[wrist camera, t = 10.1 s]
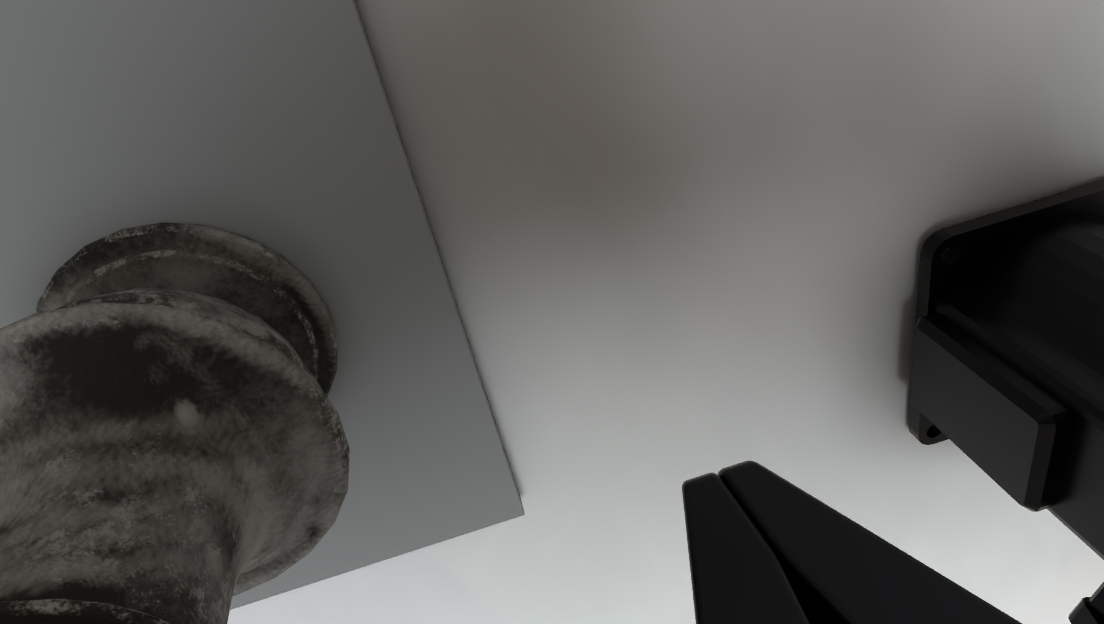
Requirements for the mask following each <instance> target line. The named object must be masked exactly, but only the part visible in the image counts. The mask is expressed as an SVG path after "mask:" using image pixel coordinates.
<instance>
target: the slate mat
mask: <svg viewBox="0 0 1104 624" xmlns="http://www.w3.org/2000/svg"><path fill="white" fill-rule="evenodd" d="M157 223H179V224H196V225H208V226H211V227H215V228H218V229H222V230H225V231H229V232H232V233H236V234H239V235H243V236H246V237H249V238H250V239H252V240H254V241H256V242H258V243H260V244H262V245H263V246H265V247H267V248H269V249H271V250H273V251H275V252H276V253H278V254H280V255H282V256H283V257H285V258H286V259H287V260H288V261H289V262H290V263H291V264H292V265H293V266H295V267H296V268H297V269H298V270H299V271H300V272H301V273H302V274H304V275H305V276H306V277H307V278H308V279H309V280H310V281H311V282H312V284H313V285H314V287H315V288H316V290H317V291H318V293H319V294H320V296H321V297H322V299H323V300H324V302H325V303H326V305H327V306H328V308H329V310H330V314H331V317H332V320H333V324H334V327H335V330H336V334H337V337H338V352H337V372H336V374H335V377H334V380H333V383H332V385H331V388H330V391H329V394H328V399H329V400H330V401H331V403H332V404H333V405H334V407H335V408H336V410H337V411H338V414H339V417H340V420H341V423H342V426H343V429H344V433H345V436H346V439H347V442H348V445H349V448H350V453H349V481H348V491H347V493H346V496H345V498H344V501H343V503H342V506H341V508H340V511H339V513H338V516H337V518H336V521H335V523H334V524H333V526H332V527H331V528H330V529H329V530H328V532H327V533H326V534H325V535H324V537H323V538H322V539H321V540H320V541H319V543H318V544H317V545H316V546H315V548H314V549H313V550H312V551H311V552H310V553H309V554H308V555H306V556H305V557H304V558H302V559H301V560H299V561H298V562H297V563H295V564H294V565H293V566H291V567H290V568H289V569H287V570H286V571H284V572H283V573H282V574H280V575H279V576H278V577H276V578H274V579H272V580H269V581H267V582H265V583H263V584H260V585H258V586H256V587H254V588H251V589H249V590H247V591H245V592H242V593H240V594H238V595H236V596H232V600H231V605H230V610H231V609H234V608H237V607H241V606H244V605H247V604H250V603H253V602H256V601H259V600H262V599H265V598H268V597H271V596H275V595H278V594H281V593H284V592H287V591H290V590H293V589H296V588H299V587H302V586H305V585H309V584H312V583H315V582H318V581H321V580H324V579H327V578H330V577H333V576H336V575H340V574H343V573H346V572H349V571H352V570H355V569H358V568H361V567H364V566H367V565H370V564H374V563H377V562H380V561H383V560H386V559H389V558H392V557H395V556H398V555H401V554H404V553H408V552H411V551H414V550H417V549H420V548H423V547H426V546H429V545H432V544H435V543H438V542H442V541H445V540H448V539H451V538H454V537H457V536H460V535H463V534H466V533H469V532H472V531H476V530H479V529H482V528H485V527H488V526H491V525H494V524H497V523H500V522H503V521H507V520H510V519H513V518H516V517H519V516H522V515H525V514H524V510H523V506H522V502H521V498H520V495H519V492H518V489H517V486H516V483H515V480H514V477H513V474H512V471H511V468H510V465H509V462H508V459H507V456H506V453H505V450H504V447H503V444H502V441H501V438H500V435H499V432H498V429H497V426H496V423H495V420H494V417H493V414H492V411H491V408H490V405H489V402H488V399H487V396H486V393H485V390H484V387H483V384H482V381H481V378H480V375H479V372H478V369H477V366H476V363H475V360H474V357H473V354H472V351H471V348H470V345H469V342H468V339H467V336H466V333H465V330H464V327H463V324H462V321H461V318H460V315H459V313H458V310H457V307H456V304H455V301H454V298H453V295H452V292H451V289H450V286H449V283H448V280H447V277H446V274H445V271H444V268H443V265H442V262H441V259H440V256H439V253H438V250H437V247H436V244H435V241H434V238H433V235H432V232H431V229H430V226H429V223H428V220H427V217H426V214H425V211H424V208H423V205H422V202H421V199H420V196H419V193H418V190H417V187H416V184H415V181H414V178H413V175H412V172H411V169H410V166H409V163H408V160H407V157H406V154H405V151H404V148H403V145H402V142H401V139H400V136H399V133H398V130H397V127H396V124H395V121H394V118H393V115H392V112H391V109H390V106H389V103H388V100H387V97H386V94H385V91H384V88H383V85H382V82H381V79H380V76H379V73H378V70H377V67H376V64H375V61H374V58H373V55H372V52H371V49H370V46H369V43H368V40H367V37H366V34H365V31H364V28H363V25H362V22H361V19H360V16H359V13H358V10H357V7H356V4H355V1H354V0H0V329H1V328H3V327H5V326H7V325H10V324H12V323H14V322H16V321H19V320H21V319H23V318H25V317H27V316H30V315H32V314H35V313H36V309H37V303H38V301H39V299H40V297H41V296H42V294H43V292H44V290H45V289H46V287H47V285H48V283H49V282H50V280H51V278H52V277H53V275H54V273H55V272H56V271H57V269H59V268H60V267H61V266H62V265H63V264H64V263H66V262H67V261H68V260H69V259H70V258H71V257H73V256H74V255H75V254H76V253H77V252H78V251H80V250H81V249H82V248H83V247H84V246H86V245H88V244H90V243H92V242H95V241H97V240H99V239H101V238H104V237H106V236H108V235H110V234H113V233H115V232H117V231H119V230H122V229H128V228H134V227H140V226H146V225H151V224H157Z"/></svg>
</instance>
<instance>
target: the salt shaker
mask: <svg viewBox="0 0 1104 624" xmlns="http://www.w3.org/2000/svg"><path fill="white" fill-rule="evenodd" d="M337 352H338V337H337V334H336V330H335V327H334V324H333V320H332V317H331V314H330V310H329V308H328V306H327V305H326V303H325V302H324V300H323V299H322V297H321V296H320V294H319V293H318V291H317V290H316V288H315V287H314V285H313V284H312V282H311V281H310V280H309V279H308V278H307V277H306V276H305V275H304V274H302V273H301V272H300V271H299V270H298V269H297V268H296V267H295V266H293V265H292V264H291V263H290V262H289V261H288V260H287V259H286V258H285V257H283V256H282V255H280V254H278V253H276V252H275V251H273V250H271V249H269V248H267V247H265V246H263V245H262V244H260V243H258V242H256V241H254V240H252V239H250V238H249V237H246V236H243V235H239V234H236V233H232V232H229V231H225V230H222V229H218V228H215V227H211V226H208V225H196V224H179V223H157V224H151V225H146V226H140V227H134V228H128V229H122V230H119V231H117V232H115V233H113V234H110V235H108V236H106V237H104V238H101V239H99V240H97V241H95V242H92V243H90V244H88V245H86V246H84V247H83V248H82V249H81V250H80V251H78V252H77V253H76V254H75V255H74V256H73V257H71V258H70V259H69V260H68V261H67V262H66V263H64V264H63V265H62V266H61V267H60V268H59V269H57V271H56V272H55V273H54V275H53V277H52V278H51V280H50V282H49V283H48V285H47V287H46V289H45V290H44V292H43V294H42V296H41V297H40V299H39V301H38V303H37V309H36V313H35V314H32V315H30V316H27V317H25V318H23V319H21V320H19V321H16V322H14V323H12V324H10V325H7V326H5V327H3V328H1V329H0V624H227V621H228V616H229V610H230V605H231V600H232V596H236V595H238V594H240V593H242V592H245V591H247V590H249V589H251V588H254V587H256V586H258V585H260V584H263V583H265V582H267V581H269V580H272V579H274V578H276V577H278V576H279V575H280V574H282V573H283V572H284V571H286V570H287V569H289V568H290V567H291V566H293V565H294V564H295V563H297V562H298V561H299V560H301V559H302V558H304V557H305V556H306V555H308V554H309V553H310V552H311V551H312V550H313V549H314V548H315V546H316V545H317V544H318V543H319V541H320V540H321V539H322V538H323V537H324V535H325V534H326V533H327V532H328V530H329V529H330V528H331V527H332V526H333V524H334V523H335V521H336V518H337V516H338V513H339V511H340V508H341V506H342V503H343V501H344V498H345V496H346V493H347V491H348V481H349V453H350V448H349V445H348V442H347V439H346V436H345V433H344V429H343V426H342V423H341V420H340V417H339V414H338V411H337V410H336V408H335V407H334V405H333V404H332V403H331V401H330V400H329V399H328V394H329V391H330V388H331V385H332V383H333V380H334V377H335V374H336V372H337Z"/></svg>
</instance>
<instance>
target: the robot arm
mask: <svg viewBox="0 0 1104 624" xmlns="http://www.w3.org/2000/svg"><path fill="white" fill-rule="evenodd" d="M948 247H949V249H948V251H947V252H946V253H945V254H944V255H943V256H942V254H943V252H944V251H945V250H946V249H947V248H948ZM910 401H911V404H910V419H909V430H910V432H911V433H912V434H913V435H914V436H915V437H916V438H917V439H918V440H919V441H920V442H921V443H922V444H926V445H930V444H935V443H938V442H941V441H944V440H947V439H950V440H951V441H952V442H953V443H954V444H955V445H956V446H958V447H959V448H960V449H961V450H962V451H963V452H964V453H965V454H966V455H967V456H968V457H969V458H970V459H972V460H973V461H974V462H975V463H976V464H977V465H978V466H979V467H980V468H981V469H982V470H983V471H984V472H985V473H987V474H988V475H989V476H990V477H991V478H992V479H993V480H994V481H995V482H996V483H997V484H998V485H999V486H1000V487H1002V488H1003V489H1004V490H1005V491H1006V492H1007V493H1008V494H1009V495H1010V496H1011V497H1012V498H1013V499H1014V500H1016V501H1017V502H1018V503H1019V504H1020V505H1021V506H1023V507H1025V508H1027V509H1029V510H1031V511H1035V512H1037V511H1040V510H1043V509H1046V508H1047V509H1048V510H1049V511H1050V512H1051V513H1052V514H1053V515H1054V516H1056V517H1057V518H1058V519H1059V520H1060V521H1061V522H1062V523H1063V524H1064V525H1066V526H1067V527H1068V528H1069V529H1070V530H1071V531H1072V532H1073V533H1074V534H1076V535H1077V536H1078V537H1079V538H1080V539H1081V540H1082V541H1083V542H1084V543H1086V544H1087V545H1088V546H1089V547H1090V548H1091V549H1092V550H1093V551H1094V552H1096V553H1097V554H1098V555H1099V556H1100V557H1101V558H1102V559H1103V560H1104V180H1101V181H1098V182H1094V183H1091V184H1088V185H1085V186H1081V187H1078V188H1075V189H1072V190H1068V191H1065V192H1062V193H1058V194H1055V195H1052V196H1049V197H1045V198H1042V199H1039V200H1036V201H1032V202H1029V203H1026V204H1023V205H1019V206H1016V207H1013V208H1009V209H1006V210H1003V211H1000V212H996V213H993V214H990V215H987V216H983V217H980V218H977V219H974V220H970V221H967V222H964V223H960V224H957V225H954V226H951V227H947V228H944V229H941V230H939V231H937V232H935V233H933V234H932V235H931V236H930V237H929V238H928V239H927V240H926V242H925V243H924V245H923V246H922V250H921V254H920V268H919V283H918V298H917V313H916V327H915V331H914V346H913V361H912V377H911V392H910ZM682 493H683V502H684V512H685V522H686V531H687V541H688V551H689V561H690V570H691V580H692V590H693V600H694V609H695V619H696V624H1022V623H1020V622H1019V621H1017V620H1015V619H1014V618H1012V617H1010V616H1009V615H1007V614H1005V613H1004V612H1002V611H1000V610H999V609H997V608H995V607H994V606H992V605H991V604H989V603H987V602H986V601H984V600H982V599H981V598H979V597H977V596H976V595H974V594H972V593H971V592H969V591H968V590H966V589H964V588H963V587H961V586H959V585H958V584H956V583H954V582H953V581H951V580H949V579H948V578H946V577H944V576H943V575H941V574H940V573H938V572H936V571H935V570H933V569H931V568H930V567H928V566H926V565H925V564H923V563H921V562H920V561H918V560H916V559H915V558H913V557H912V556H910V555H908V554H907V553H905V552H903V551H902V550H900V549H898V548H897V547H895V546H893V545H892V544H890V543H888V542H887V541H885V540H884V539H882V538H880V537H879V536H877V535H875V534H874V533H872V532H870V531H869V530H867V529H865V528H864V527H862V526H860V525H859V524H857V523H856V522H854V521H852V520H851V519H849V518H847V517H846V516H844V515H842V514H841V513H839V512H837V511H836V510H834V509H832V508H831V507H829V506H828V505H826V504H824V503H823V502H821V501H819V500H818V499H816V498H814V497H813V496H811V495H809V494H808V493H806V492H804V491H803V490H801V489H800V488H798V487H796V486H795V485H793V484H791V483H790V482H788V481H786V480H785V479H783V478H781V477H780V476H778V475H777V474H775V473H773V472H772V471H770V470H768V469H767V468H765V467H763V466H762V465H760V464H758V463H756V462H754V461H745V462H742V463H739V464H736V465H733V466H730V467H727V468H723V469H722V470H720V471H719V472H718V475H717V474H715V473H708V474H705V475H702V476H699V477H696V478H693V479H690V480H687V481H685V482H684V483H683V485H682ZM1068 618H1069V620H1070V622H1071V624H1104V582H1103V583H1102V584H1101V586H1100V587H1099V588H1098V589H1097V590H1096V592H1095V593H1094V594H1093V595H1092V596H1091V597H1085V598H1083V599H1082V600H1081V601H1080V602H1079V604H1078V605H1077V606H1076V607H1075V609H1074V610H1073V611H1072V612H1071V613H1070V615H1069V617H1068Z"/></svg>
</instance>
